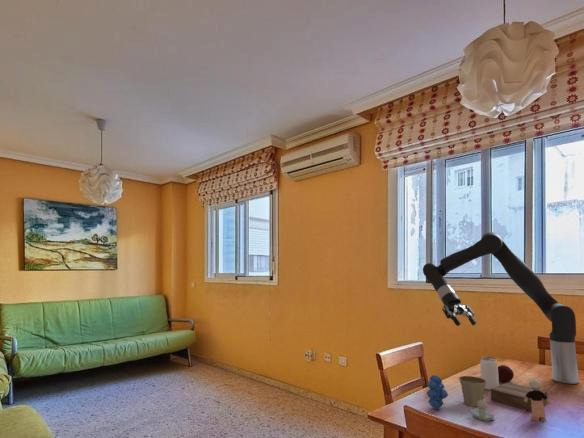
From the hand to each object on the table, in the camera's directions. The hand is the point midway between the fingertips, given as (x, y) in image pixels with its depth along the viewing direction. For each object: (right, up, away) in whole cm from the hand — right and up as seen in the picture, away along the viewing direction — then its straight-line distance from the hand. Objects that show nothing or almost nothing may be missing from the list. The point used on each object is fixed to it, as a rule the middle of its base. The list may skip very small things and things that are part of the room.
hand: (466, 324), depth 172 cm
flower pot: (-12, -21, -32) cm, 40 cm away
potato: (+15, -24, -4) cm, 28 cm away
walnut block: (+6, -21, -29) cm, 36 cm away
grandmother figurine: (+3, -19, -46) cm, 50 cm away
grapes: (-27, -20, -38) cm, 51 cm away
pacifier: (-15, -19, -45) cm, 51 cm away
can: (+3, -23, -14) cm, 27 cm away
